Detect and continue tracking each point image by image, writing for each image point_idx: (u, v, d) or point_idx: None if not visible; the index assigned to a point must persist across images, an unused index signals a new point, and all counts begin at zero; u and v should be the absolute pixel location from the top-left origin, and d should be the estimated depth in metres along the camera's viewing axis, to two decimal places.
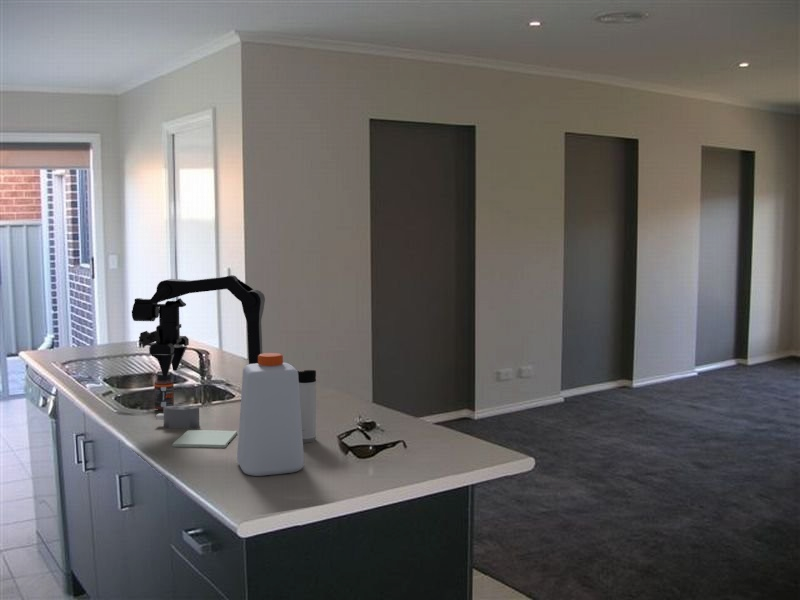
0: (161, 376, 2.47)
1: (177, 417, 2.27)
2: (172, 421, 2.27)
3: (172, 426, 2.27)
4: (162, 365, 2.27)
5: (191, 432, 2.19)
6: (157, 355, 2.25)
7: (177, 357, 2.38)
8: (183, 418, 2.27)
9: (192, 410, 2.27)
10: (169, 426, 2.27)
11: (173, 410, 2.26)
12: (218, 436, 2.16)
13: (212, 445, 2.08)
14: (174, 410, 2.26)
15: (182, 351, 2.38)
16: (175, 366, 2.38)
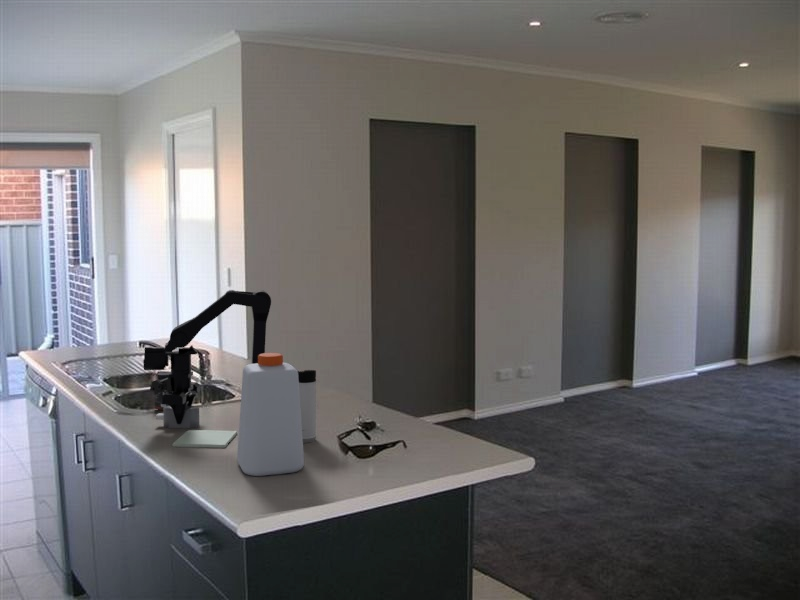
0: (161, 376, 2.47)
1: None
2: (172, 421, 2.27)
3: (172, 426, 2.27)
4: (176, 413, 2.25)
5: (191, 432, 2.19)
6: None
7: (186, 406, 2.31)
8: (183, 418, 2.27)
9: (192, 410, 2.27)
10: (169, 426, 2.27)
11: None
12: (218, 436, 2.16)
13: (212, 445, 2.08)
14: None
15: (191, 400, 2.31)
16: None
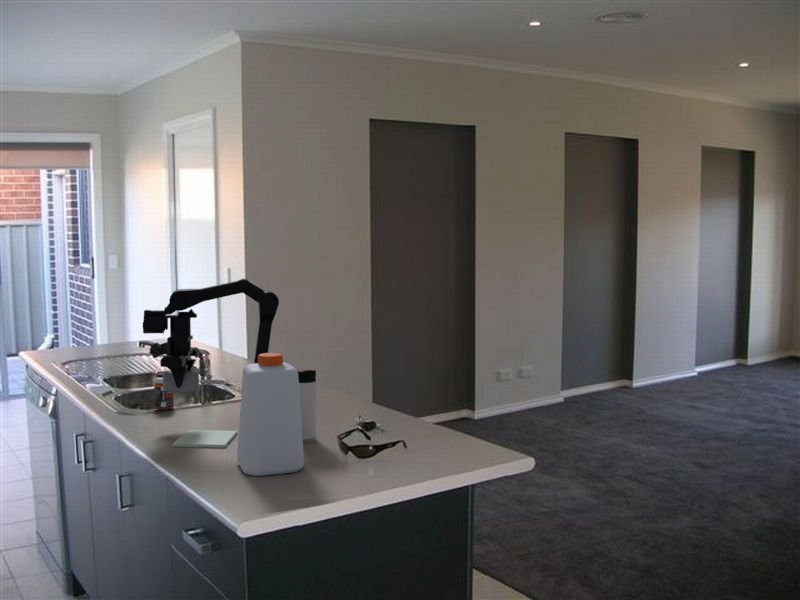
0: (161, 376, 2.47)
1: None
2: (171, 385, 2.26)
3: (171, 390, 2.26)
4: (175, 377, 2.24)
5: (191, 432, 2.19)
6: (171, 366, 2.22)
7: None
8: (182, 382, 2.26)
9: (192, 373, 2.25)
10: (168, 390, 2.26)
11: None
12: (218, 436, 2.16)
13: (212, 445, 2.08)
14: None
15: (191, 364, 2.30)
16: None
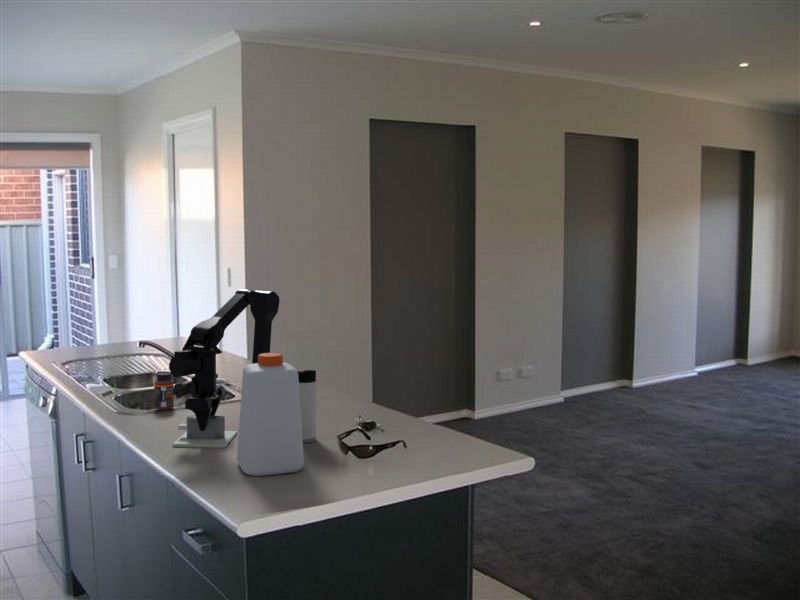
0: (161, 376, 2.47)
1: None
2: (196, 432, 2.13)
3: (196, 437, 2.13)
4: (199, 419, 2.10)
5: None
6: (194, 409, 2.07)
7: (212, 410, 2.18)
8: (208, 429, 2.12)
9: (217, 420, 2.12)
10: (193, 437, 2.13)
11: None
12: None
13: (212, 445, 2.08)
14: None
15: (217, 403, 2.18)
16: None
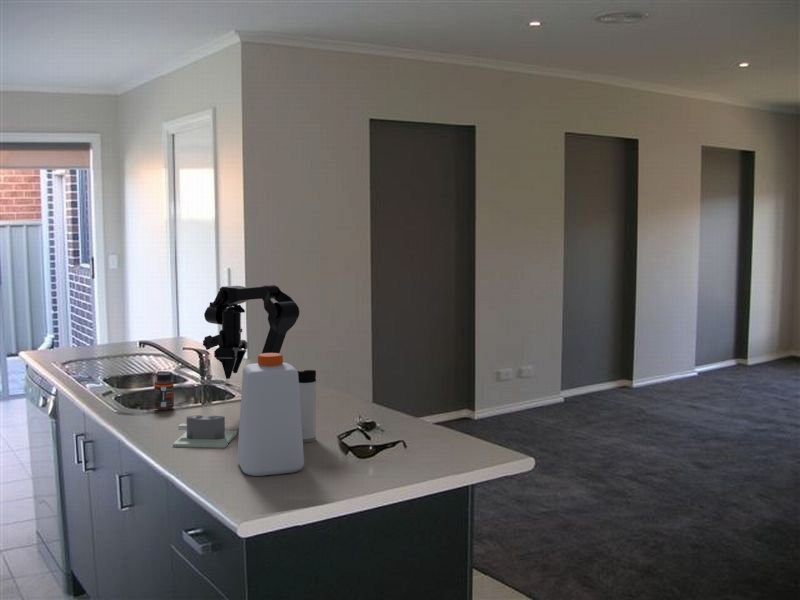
0: (161, 376, 2.47)
1: (201, 428, 2.12)
2: (196, 432, 2.13)
3: (196, 437, 2.13)
4: (225, 368, 2.38)
5: None
6: (221, 358, 2.35)
7: (237, 360, 2.48)
8: (208, 429, 2.12)
9: (217, 420, 2.12)
10: (193, 437, 2.13)
11: (197, 420, 2.12)
12: None
13: (212, 445, 2.08)
14: (198, 420, 2.12)
15: (242, 354, 2.48)
16: (235, 369, 2.48)
